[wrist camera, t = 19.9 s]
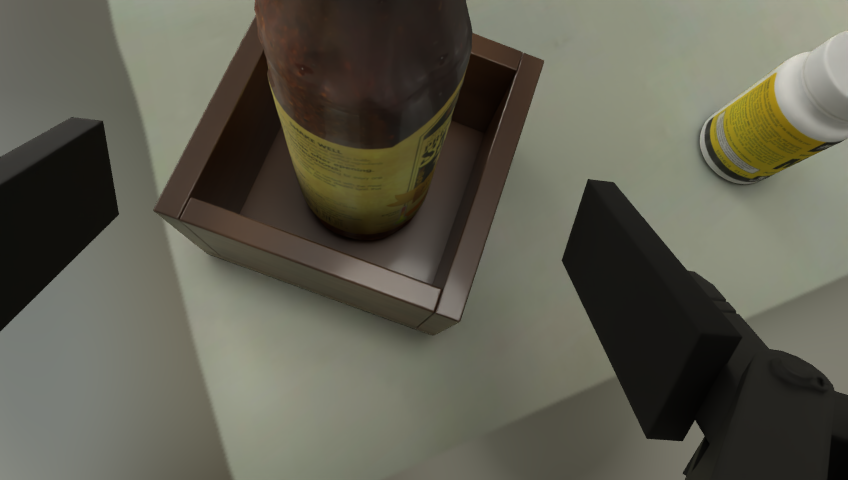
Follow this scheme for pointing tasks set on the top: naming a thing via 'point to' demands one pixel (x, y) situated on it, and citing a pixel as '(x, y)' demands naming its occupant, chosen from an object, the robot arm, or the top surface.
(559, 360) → the top surface
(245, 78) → the open wooden crate
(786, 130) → the supplement bottle
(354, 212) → the sauce bottle
